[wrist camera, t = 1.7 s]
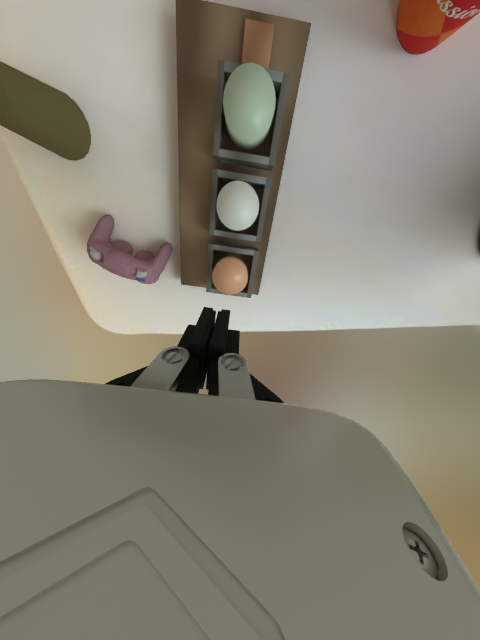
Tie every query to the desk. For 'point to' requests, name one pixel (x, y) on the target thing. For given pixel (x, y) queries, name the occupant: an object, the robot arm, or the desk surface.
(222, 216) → the white egg
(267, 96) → the pale green egg
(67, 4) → the desk surface
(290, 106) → the board
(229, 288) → the brown egg
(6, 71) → the olive green skittle
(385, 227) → the desk surface
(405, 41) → the coffee cup
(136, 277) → the video game controller
